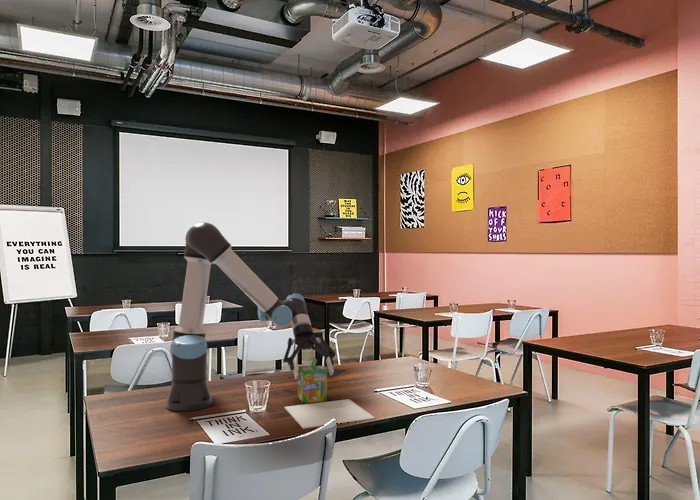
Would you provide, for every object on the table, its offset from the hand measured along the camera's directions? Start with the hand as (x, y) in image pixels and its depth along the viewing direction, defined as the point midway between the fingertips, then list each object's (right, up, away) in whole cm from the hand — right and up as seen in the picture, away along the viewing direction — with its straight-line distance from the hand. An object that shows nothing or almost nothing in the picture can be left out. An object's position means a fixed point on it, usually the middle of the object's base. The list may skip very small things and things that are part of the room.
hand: (314, 375), depth 185 cm
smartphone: (+6, -9, +36) cm, 38 cm away
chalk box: (-1, -9, -1) cm, 9 cm away
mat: (+6, -8, -17) cm, 20 cm away
